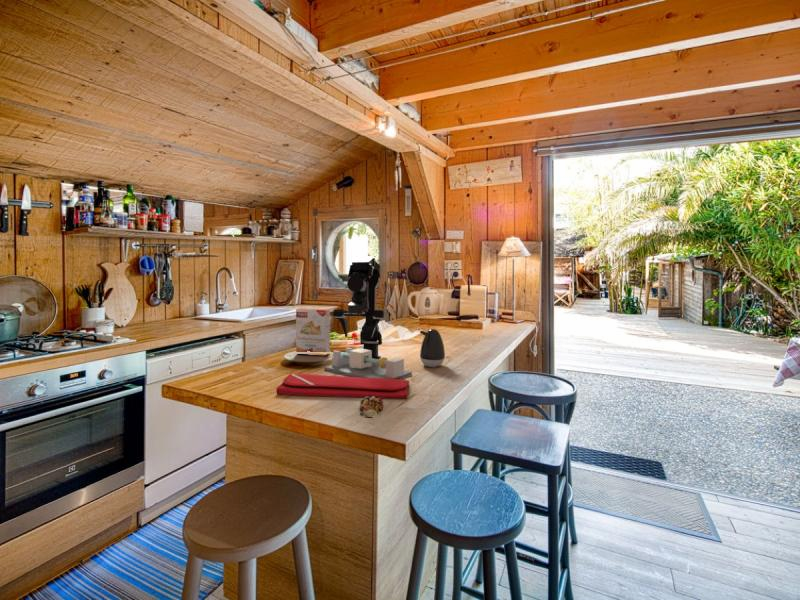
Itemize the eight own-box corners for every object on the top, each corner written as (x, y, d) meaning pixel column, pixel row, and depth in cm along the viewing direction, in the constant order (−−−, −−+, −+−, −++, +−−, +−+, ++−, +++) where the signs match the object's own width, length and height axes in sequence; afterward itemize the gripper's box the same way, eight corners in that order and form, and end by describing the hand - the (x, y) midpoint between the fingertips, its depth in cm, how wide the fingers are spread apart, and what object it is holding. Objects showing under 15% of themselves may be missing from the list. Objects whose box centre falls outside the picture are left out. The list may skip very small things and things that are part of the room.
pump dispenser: (420, 362, 176) (421, 326, 174) (445, 363, 174) (445, 327, 173) (418, 368, 166) (418, 330, 164) (444, 369, 164) (445, 331, 163)
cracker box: (295, 355, 185) (295, 308, 183) (301, 352, 191) (300, 307, 189) (325, 356, 183) (325, 309, 181) (330, 354, 189) (330, 308, 187)
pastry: (358, 419, 112) (359, 406, 112) (359, 404, 124) (360, 392, 124) (384, 419, 112) (384, 406, 112) (382, 404, 124) (383, 392, 124)
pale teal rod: (342, 357, 168) (342, 348, 168) (398, 369, 151) (398, 358, 151) (335, 359, 165) (335, 349, 165) (391, 371, 148) (391, 360, 148)
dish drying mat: (406, 400, 127) (407, 389, 127) (275, 396, 129) (275, 384, 129) (408, 385, 143) (408, 375, 143) (291, 381, 145) (291, 371, 145)
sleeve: (360, 363, 164) (360, 348, 163) (371, 365, 160) (371, 350, 160) (349, 366, 159) (349, 350, 159) (361, 368, 156) (361, 352, 155)
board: (353, 362, 173) (353, 346, 173) (411, 375, 155) (411, 356, 155) (324, 370, 161) (324, 352, 160) (384, 384, 143) (384, 364, 142)
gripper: (329, 292, 145) (327, 337, 143) (381, 293, 143) (380, 338, 141) (337, 295, 156) (335, 337, 154) (386, 296, 154) (385, 338, 152)
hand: (358, 337), depth 150 cm, fingers open, 9 cm apart
